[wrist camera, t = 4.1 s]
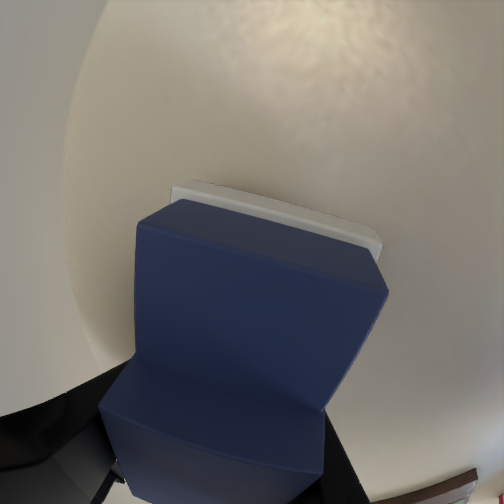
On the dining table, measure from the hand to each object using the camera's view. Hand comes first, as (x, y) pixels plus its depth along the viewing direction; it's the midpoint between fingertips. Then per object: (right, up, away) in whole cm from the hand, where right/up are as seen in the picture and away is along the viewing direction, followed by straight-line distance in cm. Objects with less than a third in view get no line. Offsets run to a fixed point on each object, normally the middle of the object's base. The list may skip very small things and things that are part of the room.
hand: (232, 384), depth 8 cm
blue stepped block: (0, 0, +1) cm, 1 cm away
